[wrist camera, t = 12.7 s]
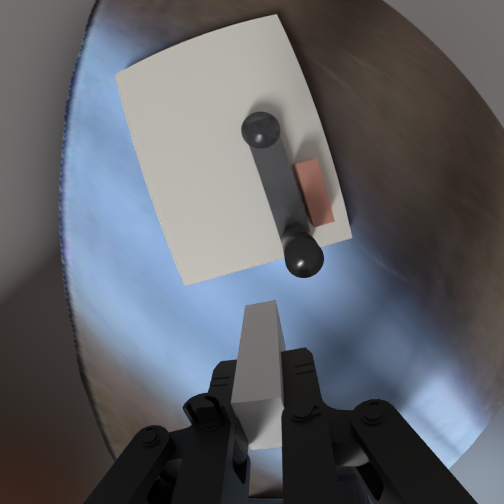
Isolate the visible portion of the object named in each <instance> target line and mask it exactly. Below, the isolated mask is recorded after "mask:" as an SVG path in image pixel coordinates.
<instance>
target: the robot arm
mask: <svg viewBox="0 0 504 504" xmlns="http://www.w3.org/2000/svg"><path fill="white" fill-rule="evenodd" d="M211 379H212V380H211V382H210V387H209V390H208V393H202V394H198V395H196V396H194V397H192V398H190V399H189V400H188V401H187V402H186V403H185V404H184V406H183V410H184V412H185V414H186V415H187V417H188V419H189V421H190V422H191V424H192V425H191V426H190V427H188V428H185V429H181V430H177V431H173V432H168V431H167V430H166V429H165V428H164V427H162V426H157V425H152V426H148V427H145V428H143V429H141V430H140V431H139V432H138V433H137V434H136V435H135V436H134V438H133V439H132V440H131V442H130V443H129V444H128V446H127V447H126V448H125V450H124V451H123V452H122V454H121V455H120V456H119V458H118V459H117V460H116V462H115V463H114V464H113V466H112V467H111V468H110V470H109V471H108V472H107V473H106V475H105V476H104V477H103V479H102V480H101V481H100V483H99V484H98V485H97V487H96V488H95V489H94V490H93V492H92V493H91V494H90V496H89V497H88V498H87V500H86V501H85V502H84V504H478V503H477V502H476V501H475V500H474V499H473V498H472V496H471V495H470V494H469V493H468V492H467V491H466V489H465V488H464V487H463V486H462V485H461V484H460V483H459V481H458V480H457V479H456V478H455V477H454V476H453V475H452V473H451V472H450V471H449V470H448V469H447V467H446V466H445V465H444V464H443V463H442V462H441V461H440V459H439V458H438V457H437V456H436V455H435V454H434V452H433V451H432V450H431V449H430V448H429V447H428V446H427V444H426V443H425V442H424V441H423V440H422V439H421V438H420V436H419V435H418V434H417V433H416V432H415V431H414V429H413V428H412V427H411V426H410V425H409V424H408V423H407V421H406V420H405V419H404V418H403V417H402V416H401V415H400V413H399V412H398V411H397V410H396V409H395V408H394V407H393V405H391V404H390V403H388V402H387V401H384V400H380V399H372V400H368V401H365V402H362V403H361V404H359V405H358V406H356V408H355V409H354V410H336V409H333V408H331V407H329V406H327V405H326V404H325V403H324V402H323V400H322V397H321V393H320V388H319V383H318V378H317V374H316V369H315V364H314V360H313V355H312V353H311V352H310V351H309V350H308V349H307V348H306V347H305V348H299V349H294V350H289V351H286V349H285V342H284V337H283V333H282V328H281V323H280V318H279V314H278V309H277V304H276V300H274V301H268V302H263V303H257V304H252V305H246V306H245V312H244V318H243V325H242V332H241V338H240V345H239V352H238V358H237V360H229V361H221V362H220V363H219V364H218V365H217V366H216V367H215V369H214V370H213V374H212V378H211ZM248 444H249V446H250V448H251V450H259V449H269V448H278V447H282V468H283V499H258V498H248V495H249V480H250V464H251V462H250V457H249V455H248V453H247V452H248Z"/></svg>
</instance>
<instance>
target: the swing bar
mask: <svg viewBox="0 0 504 504" xmlns="http://www.w3.org/2000/svg"><path fill="white" fill-rule="evenodd" d="M241 133H242V137H243V139H244V140H245V142H246V143H247V144H248V145H249V147H250V150H251V153H252V156H253V158H254V161H255V164H256V167H257V170H258V173H259V176H260V179H261V182H262V185H263V188H264V191H265V194H266V197H267V200H268V203H269V206H270V209H271V212H272V215H273V218H274V221H275V224H276V227H277V231H278V234H279V237H280V240H281V243H282V248H283V253H284V258H285V263H286V266H287V269H288V270H289V272H290V273H291V274H293V275H294V276H297V277H300V278H308V277H311V276H313V275H315V274H316V273H318V272H319V270H320V269H321V268H322V265H323V262H324V255H323V252H322V250H321V248H320V246H319V245H318V243H317V242H316V240H315V239H314V237H313V236H312V234H311V232H310V228H309V225H308V221H307V218H306V215H305V211H304V208H303V205H302V201H301V198H300V195H299V192H298V188H297V185H296V182H295V179H294V176H293V173H292V170H291V167H290V164H289V161H288V158H287V155H286V152H285V149H284V146H283V143H282V140H281V137H280V125H279V122H278V120H277V119H276V118H275V117H274V116H273V115H271V114H270V113H267V112H254V113H252V114H250V115H249V116H247V117H246V118H245V120H244V121H243V123H242V127H241Z"/></svg>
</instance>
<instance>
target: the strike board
mask: <svg viewBox="0 0 504 504" xmlns="http://www.w3.org/2000/svg"><path fill="white" fill-rule="evenodd" d="M115 77H116V81H117V85H118V89H119V93H120V97H121V101H122V105H123V109H124V113H125V116H126V120H127V123H128V127H129V130H130V134H131V137H132V141H133V144H134V147H135V151H136V154H137V157H138V160H139V163H140V167H141V170H142V173H143V176H144V179H145V182H146V185H147V188H148V191H149V194H150V197H151V199H152V202H153V205H154V208H155V211H156V214H157V216H158V219H159V222H160V224H161V227H162V230H163V233H164V235H165V238H166V240H167V243H168V246H169V248H170V251H171V253H172V256H173V258H174V261H175V263H176V266H177V268H178V271H179V273H180V276H181V278H182V280H183V283H184V285H185V286H187V285H191V284H194V283H198V282H202V281H205V280H209V279H212V278H216V277H220V276H223V275H227V274H230V273H234V272H237V271H241V270H244V269H248V268H251V267H255V266H258V265H262V264H265V263H269V262H272V261H276V260H279V259H283V258H284V253H283V248H282V243H281V240H280V237H279V234H278V231H277V227H276V224H275V221H274V218H273V215H272V212H271V209H270V206H269V203H268V200H267V197H266V194H265V191H264V188H263V185H262V182H261V179H260V176H259V173H258V170H257V167H256V164H255V161H254V158H253V156H252V153H251V150H250V147H249V145H248V144H247V143H246V142H245V140H244V139H243V137H242V133H241V127H242V123H243V121H244V120H245V118H246V117H247V116H249V115H250V114H252V113H254V112H267V113H270V114H271V115H273V116H274V117H275V118H276V119H277V120H278V122H279V125H280V137H281V140H282V143H283V146H284V149H285V152H286V155H287V158H288V161H289V164H290V167H291V170H292V173H293V176H294V179H295V182H296V185H297V188H298V192H299V195H300V198H301V201H302V205H303V208H304V211H305V215H306V218H307V221H308V225H309V228H310V232H311V234H312V236H313V237H314V239H315V240H316V242H317V243H318V245H319V246H320V247H324V246H327V245H330V244H334V243H337V242H340V241H344V240H347V239H350V238H352V234H351V230H350V225H349V221H348V217H347V213H346V209H345V205H344V201H343V197H342V193H341V189H340V185H339V182H338V178H337V174H336V171H335V167H334V164H333V160H332V157H331V154H330V150H329V147H328V144H327V141H326V137H325V134H324V131H323V128H322V125H321V122H320V119H319V116H318V113H317V111H316V108H315V105H314V102H313V99H312V97H311V94H310V91H309V88H308V86H307V83H306V81H305V78H304V75H303V73H302V70H301V68H300V65H299V63H298V61H297V58H296V56H295V53H294V51H293V49H292V46H291V44H290V42H289V40H288V37H287V35H286V33H285V31H284V29H283V26H282V24H281V22H280V20H279V18H278V16H277V14H276V15H271V16H266V17H262V18H258V19H253V20H249V21H246V22H242V23H238V24H235V25H231V26H228V27H225V28H221V29H218V30H215V31H212V32H209V33H206V34H203V35H201V36H198V37H195V38H192V39H190V40H187V41H185V42H182V43H180V44H177V45H175V46H172V47H170V48H168V49H165V50H163V51H161V52H159V53H156V54H154V55H152V56H150V57H148V58H146V59H144V60H142V61H140V62H138V63H136V64H134V65H132V66H130V67H128V68H126V69H124V70H123V71H121V72H119V73H117V74H115Z"/></svg>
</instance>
